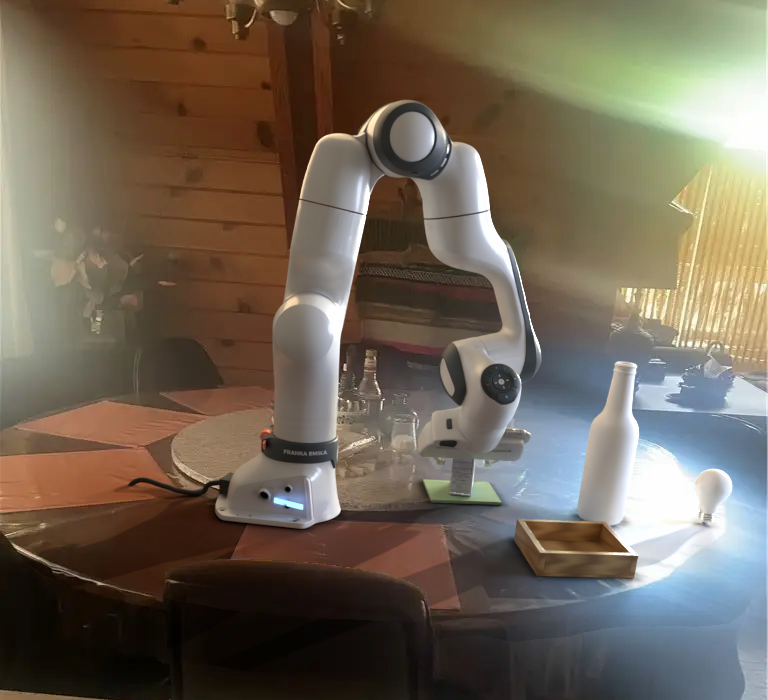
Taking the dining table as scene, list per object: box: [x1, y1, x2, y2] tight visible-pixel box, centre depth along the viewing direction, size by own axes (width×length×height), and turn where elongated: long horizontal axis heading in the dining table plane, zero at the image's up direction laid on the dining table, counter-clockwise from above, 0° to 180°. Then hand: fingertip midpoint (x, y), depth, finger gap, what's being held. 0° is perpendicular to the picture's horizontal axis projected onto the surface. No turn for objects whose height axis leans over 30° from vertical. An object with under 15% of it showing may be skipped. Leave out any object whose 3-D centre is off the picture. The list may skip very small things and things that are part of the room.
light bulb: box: [694, 468, 733, 525], centre depth 145 cm, size 7×7×11 cm
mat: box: [422, 479, 503, 506], centre depth 153 cm, size 14×12×1 cm
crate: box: [513, 518, 639, 579], centre depth 126 cm, size 16×14×4 cm
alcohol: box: [576, 361, 640, 527], centre depth 141 cm, size 9×9×30 cm
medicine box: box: [449, 458, 477, 497], centre depth 152 cm, size 8×4×9 cm, turn 171°
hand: (462, 462), depth 151 cm, fingers open, 8 cm apart
